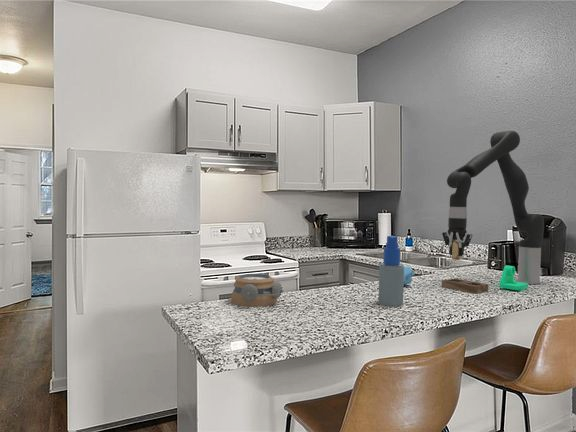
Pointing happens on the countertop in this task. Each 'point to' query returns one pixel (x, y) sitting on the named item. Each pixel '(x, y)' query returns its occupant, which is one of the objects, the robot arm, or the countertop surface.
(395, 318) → the countertop surface
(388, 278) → the spray bottle
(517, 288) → the camera mount
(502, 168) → the robot arm
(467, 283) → the jig
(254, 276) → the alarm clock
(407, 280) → the teapot
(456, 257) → the bushing
